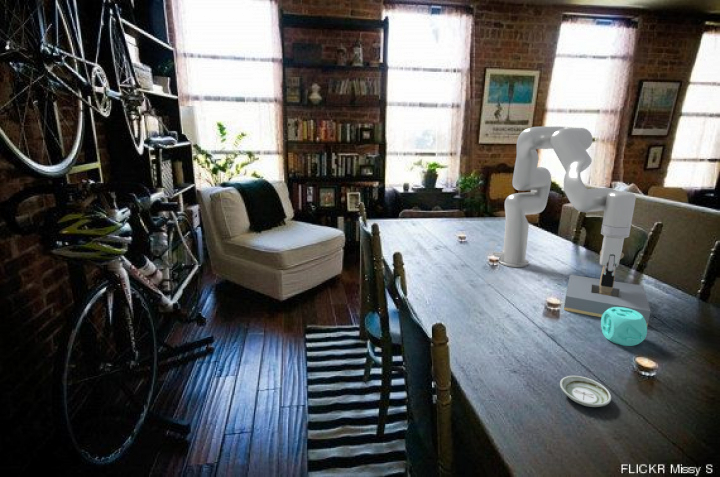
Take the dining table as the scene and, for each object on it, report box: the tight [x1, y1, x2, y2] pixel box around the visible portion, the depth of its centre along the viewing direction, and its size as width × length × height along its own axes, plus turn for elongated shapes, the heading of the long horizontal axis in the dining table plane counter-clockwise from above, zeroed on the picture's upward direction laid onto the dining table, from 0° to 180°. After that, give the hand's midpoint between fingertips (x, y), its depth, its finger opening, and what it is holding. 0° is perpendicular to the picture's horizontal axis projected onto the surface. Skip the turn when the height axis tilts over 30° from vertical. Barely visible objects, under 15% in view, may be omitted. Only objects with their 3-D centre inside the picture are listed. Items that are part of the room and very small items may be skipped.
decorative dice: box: [600, 307, 648, 347], centre depth 103 cm, size 8×8×8 cm
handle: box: [599, 250, 625, 296], centre depth 122 cm, size 5×6×15 cm
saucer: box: [559, 375, 612, 408], centre depth 81 cm, size 10×10×2 cm
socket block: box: [563, 274, 651, 327], centre depth 124 cm, size 22×22×5 cm
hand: (606, 283), depth 123 cm, fingers closed on handle, 3 cm apart
